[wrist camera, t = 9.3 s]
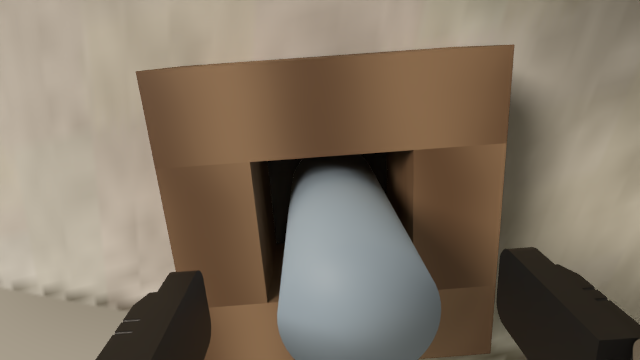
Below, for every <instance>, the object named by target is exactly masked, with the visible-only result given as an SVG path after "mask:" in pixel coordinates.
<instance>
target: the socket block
mask: <svg viewBox="0 0 640 360" xmlns="http://www.w3.org/2000/svg"><path fill="white" fill-rule="evenodd" d="M513 55H514V45H493V46H467V47H448V48H434V49H420V50H406V51H392V52H378V53H364V54H349V55H335V56H321V57H307V58H293V59H279V60H265V61H250V62H236V63H222V64H208V65H194V66H181V67H172V68H163V69H154V70H145V71H136V75H137V80H138V85H139V90H140V95H141V100H142V105H143V110H144V115H145V120H146V125H147V130H148V135H149V140H150V145H151V150H152V155H153V160H154V165H155V170H156V175H157V180H158V185H159V190H160V194H161V199H162V204H163V209H164V214H165V219H166V224H167V229H168V234H169V239H170V244H171V249H172V254H173V259H174V264H175V269H176V272H182V271H196V270H199V271H201V273H202V275H203V279H204V285H205V290H206V296H207V301H208V307H209V312H210V318H211V339H210V344H209V347H208V350H207V353H206V356H205V359H204V360H295V359H294V358H293V357H292V356H291V355H290V353H289V352H288V351H287V349H286V347H285V345H284V344H283V342H282V339H281V336H280V334H279V329H278V324H277V311H278V302H279V293H280V284H281V275H282V266H283V258H284V249H285V243H278V244H277V243H276V234H275V225H274V216H273V207H272V198H271V189H270V180H269V171H268V162H267V161H271V160H285V159H298V158H312V157H326V156H339V155H353V154H366V153H380V152H386V166H387V198H388V200H389V201H390V203H391V205H392V207H393V209H394V210H395V212H396V214H397V216H398V218H399V219H400V221H401V223H402V225H403V227H404V228H405V230H406V232H407V234H408V236H409V237H410V239H411V241H412V243H413V245H414V246H415V248H416V250H417V252H418V254H419V255H420V257H421V259H422V261H423V263H424V264H425V266H426V268H427V270H428V272H429V273H430V275H431V277H432V279H433V281H434V282H435V284H436V287H437V289H438V292H439V296H440V301H441V318H440V323H439V327H438V330H437V333H436V335H435V338H434V339H433V341H432V343H431V344H430V346H429V347H428V349H427V350H426V351H425V352H424V354H423V355H422V356H421V357H420V358H419V359H425V358H438V357H451V356H463V355H476V354H489V353H490V352H491V339H492V326H493V313H494V300H495V287H496V274H497V261H498V248H499V235H500V223H501V210H502V197H503V184H504V171H505V158H506V145H507V132H508V119H509V106H510V93H511V81H512V68H513Z"/></svg>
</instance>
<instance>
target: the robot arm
mask: <svg viewBox="0 0 640 360" xmlns="http://www.w3.org/2000/svg"><path fill="white" fill-rule="evenodd" d="M497 310H498V314H499V317H500V320H501V322H502V324H503V325H504V327H505V328H506V329H507V331H508V332H509V334H510V335H511V337H512V338H513V339H514V341H515V342H516V344H517V345H518V346H519V348H520V349H521V351H522V352H523V354H524V355H525V356H526V358H527V359H528V360H640V325H639V324H638V323H637V322H636V321H634V320H633V319H632V318H631V317H630V316H628V315H627V314H626V313H625V312H624V311H622V310H621V309H620V308H619V307H618V306H616V305H615V304H614V303H613V302H612V301H608V300H607V297H606V296H604V295H603V294H602V293H601V292H600V291H598V290H595V289H594V286H592V285H591V284H590V283H589V282H588V281H586V280H585V279H584V278H583V277H581V276H580V275H579V274H577V273H575V272H573V271H571V270H569V269H567V268H565V267H563V266H561V265H558V264H557V265H555V264H554V263H553V262H551V261H550V260H549V259H548V258H547V257H546V256H545V255H543V254H542V253H541V252H540V251H539V250H538V249H536V248H534V247H529V248H515V249H504V250H503V251H502V253H501V256H500V264H499V276H498V288H497ZM210 339H211V318H210V312H209V307H208V301H207V296H206V290H205V285H204V279H203V275H202V273H201V271H199V270H196V271H182V272H171V273H169V275H168V276H167V278H166V279H165V281H164V282H163V284H162V286H161V287H160V289H159V290H158V292H153V293H149V294H147V295H146V296H145V297H144V298H142V299H141V300H140V301H138V302H137V303H136V304H135V305H133V307H132V308H131V309H130V311H129V312H128V314H127V315H126V317H125V318H124V320H123V323H121V324H120V325H119V327H118V328H117V330H116V331H115V335H112V337H111V338H110V340H109V341H108V343H107V344H106V346H105V347H104V348H103V350H102V351H101V353H100V354H99V356H98V357H97V359H96V360H204V359H205V356H206V353H207V350H208V347H209V344H210Z"/></svg>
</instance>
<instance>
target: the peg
mask: <svg viewBox="0 0 640 360" xmlns="http://www.w3.org/2000/svg"><path fill="white" fill-rule="evenodd" d="M440 318H441V301H440V296H439V292H438V289H437V287H436V284H435V282H434V281H433V279H432V277H431V275H430V273H429V272H428V270H427V268H426V266H425V264H424V263H423V261H422V259H421V257H420V255H419V254H418V252H417V250H416V248H415V246H414V245H413V243H412V241H411V239H410V237H409V236H408V234H407V232H406V230H405V228H404V227H403V225H402V223H401V221H400V219H399V218H398V216H397V214H396V212H395V210H394V209H393V207H392V205H391V203H390V201H389V200H388V198H387V196H386V194H385V192H384V191H383V189H382V187H381V185H380V183H379V182H378V180H377V178H376V176H375V174H374V173H373V171H372V169H371V167H370V166H369V164H368V162H367V161H366V160H365V159H364V158H363V157H362V156H361V155H360V154H353V155H339V156H326V157H312V158H303V159H302V160H301V161H300V163H299V164H298V166H297V167H296V169H295V172H294V174H293V178H292V186H291V195H290V204H289V213H288V222H287V231H286V240H285V249H284V258H283V266H282V275H281V284H280V293H279V302H278V311H277V324H278V329H279V334H280V336H281V339H282V342H283V344H284V345H285V347H286V349H287V351H288V352H289V353H290V355H291V356H292V357H293V358H294V359H295V360H418V359H419V358H420V357H421V356H422V355H423V354H424V352H425V351H426V350H427V349H428V347H429V346H430V344H431V343H432V341H433V339H434V338H435V335H436V333H437V330H438V327H439V323H440Z"/></svg>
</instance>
